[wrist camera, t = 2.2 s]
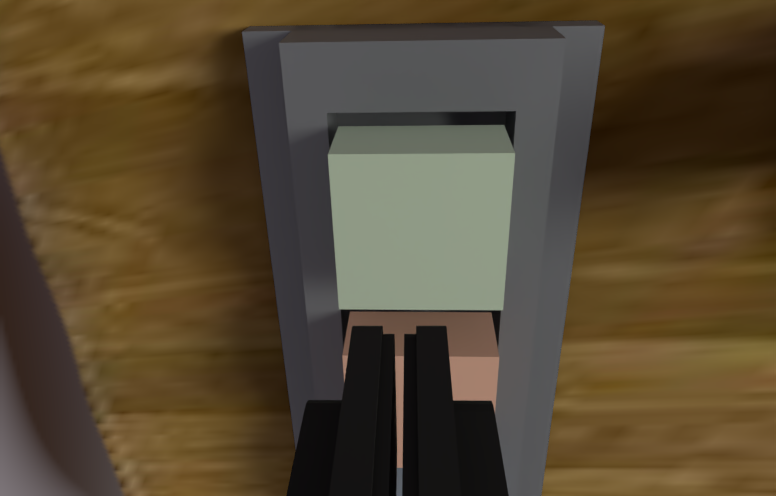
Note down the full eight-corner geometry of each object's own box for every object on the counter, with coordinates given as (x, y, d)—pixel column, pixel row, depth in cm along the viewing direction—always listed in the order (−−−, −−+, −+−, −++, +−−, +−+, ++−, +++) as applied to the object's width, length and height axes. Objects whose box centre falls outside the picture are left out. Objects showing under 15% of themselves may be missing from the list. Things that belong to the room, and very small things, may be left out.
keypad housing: (522, 592, 33) (531, 651, 31) (318, 586, 34) (309, 643, 31) (596, 20, 19) (624, 37, 17) (249, 26, 20) (223, 43, 17)
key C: (494, 268, 20) (503, 310, 18) (347, 268, 20) (338, 309, 18) (503, 124, 18) (515, 153, 16) (338, 126, 18) (327, 154, 16)
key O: (484, 418, 23) (490, 469, 21) (356, 417, 24) (350, 466, 21) (491, 312, 21) (499, 357, 19) (349, 311, 21) (342, 355, 19)
